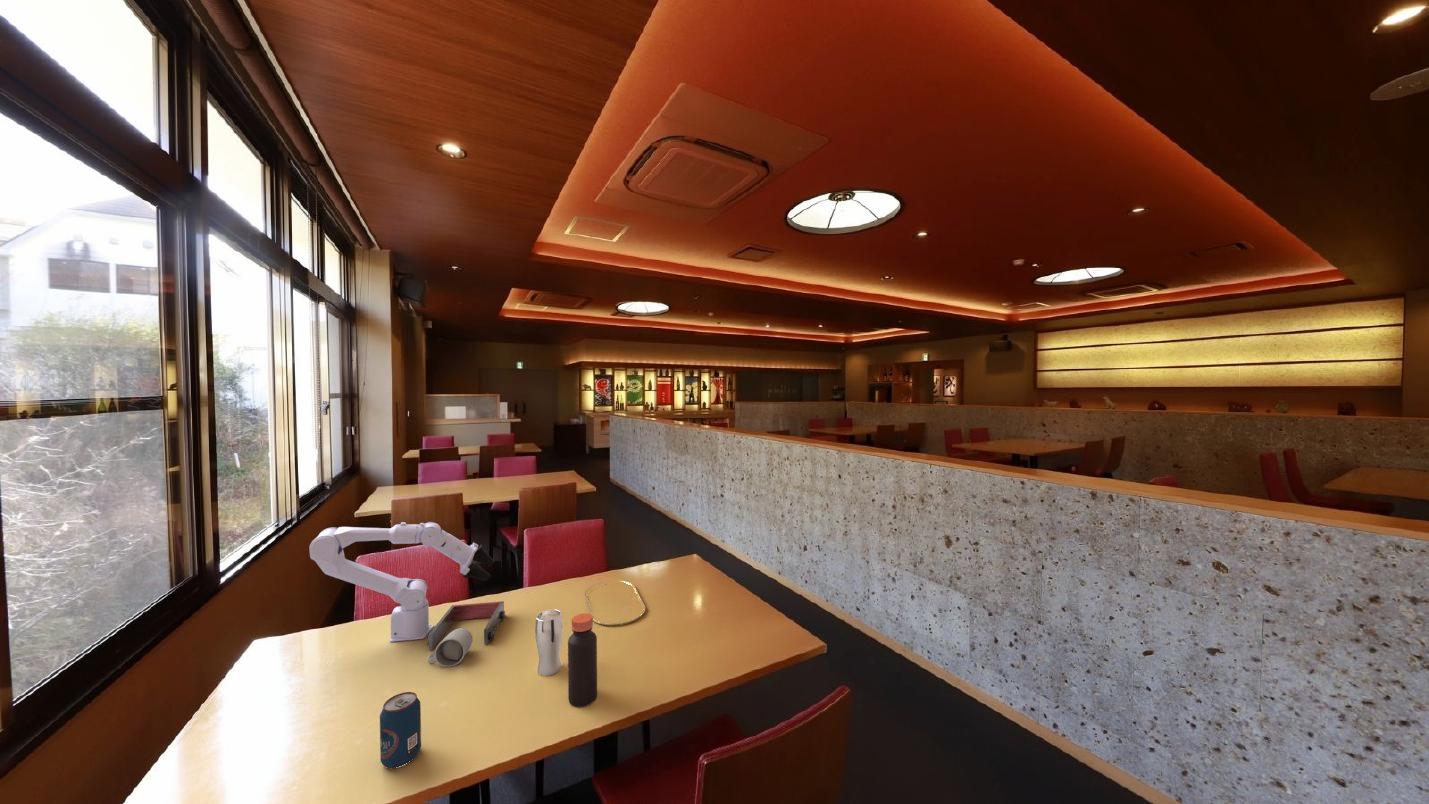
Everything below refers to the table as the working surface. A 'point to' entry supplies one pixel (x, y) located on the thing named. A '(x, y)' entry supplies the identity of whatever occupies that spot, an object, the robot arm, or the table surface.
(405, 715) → the soda can
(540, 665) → the beer glass
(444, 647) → the ceramic mug
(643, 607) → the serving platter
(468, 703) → the table surface
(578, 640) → the bottle
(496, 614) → the grey u-frame
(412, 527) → the robot arm
